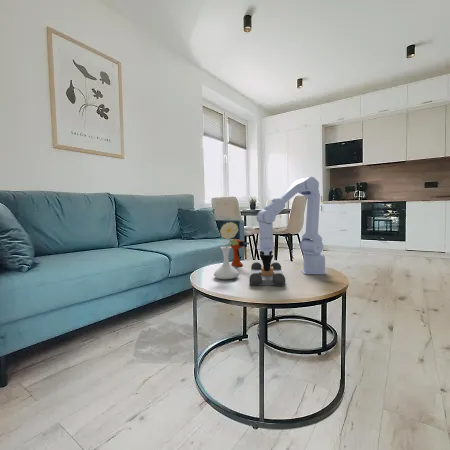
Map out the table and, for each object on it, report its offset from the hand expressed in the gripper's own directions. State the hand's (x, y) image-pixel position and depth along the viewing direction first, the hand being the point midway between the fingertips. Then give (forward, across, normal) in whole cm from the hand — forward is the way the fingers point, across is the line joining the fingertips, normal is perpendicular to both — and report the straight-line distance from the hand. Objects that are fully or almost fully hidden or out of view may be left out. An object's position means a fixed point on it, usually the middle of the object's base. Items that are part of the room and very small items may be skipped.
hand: (266, 268), depth 120 cm
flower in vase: (+4, 0, -17) cm, 18 cm away
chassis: (+4, 0, 0) cm, 4 cm away
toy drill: (+4, -24, -13) cm, 28 cm away
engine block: (+4, 0, 0) cm, 4 cm away
